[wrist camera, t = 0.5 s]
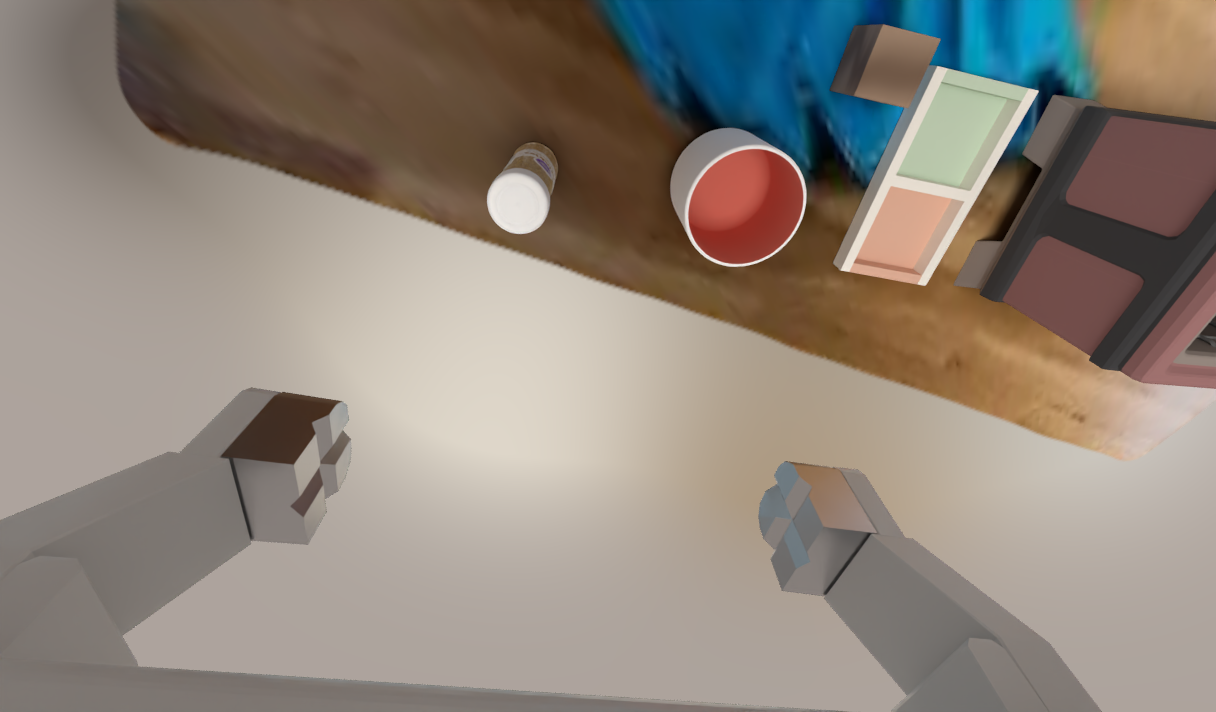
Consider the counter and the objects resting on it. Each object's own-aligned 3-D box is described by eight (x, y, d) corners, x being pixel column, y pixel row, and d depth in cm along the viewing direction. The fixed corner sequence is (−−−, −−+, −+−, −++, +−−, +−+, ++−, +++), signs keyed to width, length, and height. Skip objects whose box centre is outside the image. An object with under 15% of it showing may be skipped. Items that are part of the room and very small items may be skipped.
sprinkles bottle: (567, 159, 48) (560, 196, 36) (543, 199, 50) (529, 247, 38) (524, 130, 46) (503, 160, 35) (502, 173, 48) (475, 214, 37)
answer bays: (924, 65, 44) (937, 65, 43) (1022, 89, 45) (1038, 91, 44) (832, 263, 54) (840, 270, 52) (915, 278, 55) (925, 285, 54)
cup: (772, 118, 46) (812, 135, 38) (767, 223, 52) (801, 259, 43) (665, 133, 47) (681, 154, 38) (671, 236, 52) (687, 274, 44)
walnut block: (854, 25, 43) (883, 24, 38) (906, 39, 43) (940, 39, 39) (829, 90, 45) (853, 95, 41) (879, 102, 46) (908, 108, 42)
